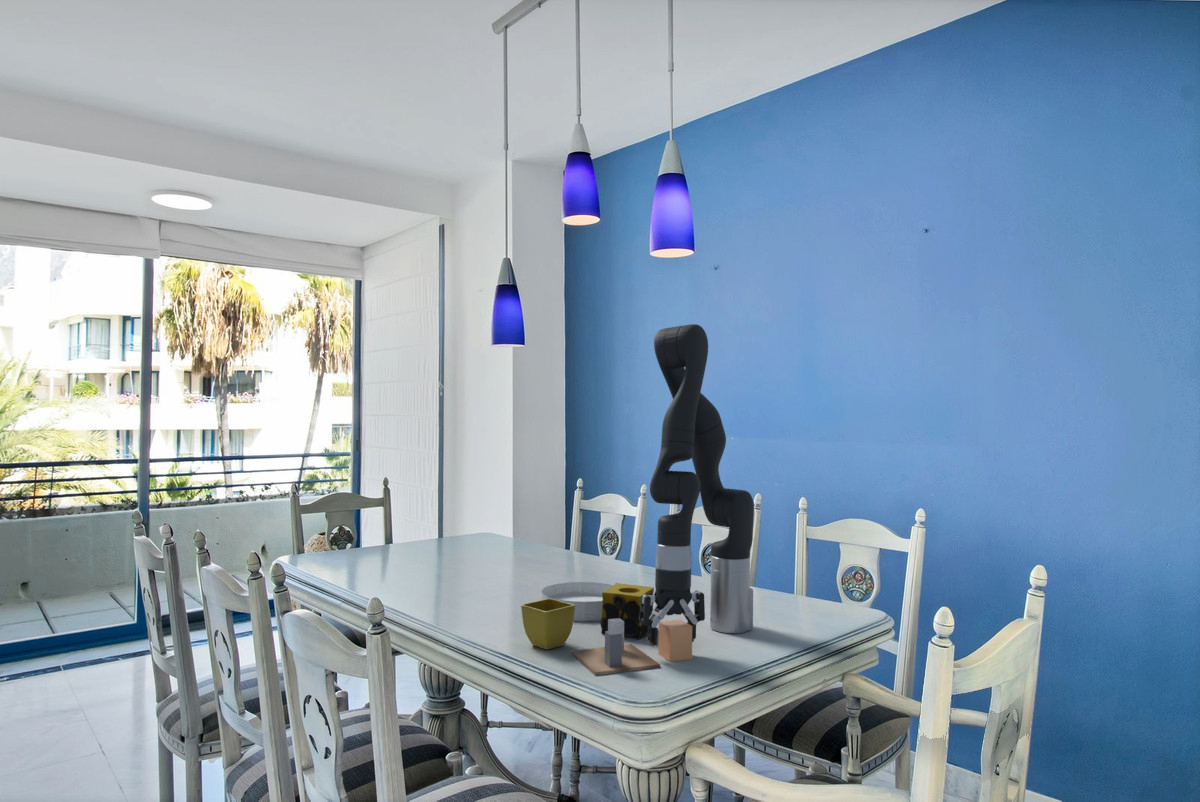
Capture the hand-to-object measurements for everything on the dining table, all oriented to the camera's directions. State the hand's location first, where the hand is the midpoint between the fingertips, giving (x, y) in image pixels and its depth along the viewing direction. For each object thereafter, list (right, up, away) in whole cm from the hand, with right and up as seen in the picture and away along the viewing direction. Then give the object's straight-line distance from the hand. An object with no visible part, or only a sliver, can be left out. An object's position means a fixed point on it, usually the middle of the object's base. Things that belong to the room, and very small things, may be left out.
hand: (671, 643), depth 157 cm
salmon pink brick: (+1, -3, 0) cm, 3 cm away
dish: (-20, -4, +37) cm, 42 cm away
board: (-12, -3, -3) cm, 13 cm away
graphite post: (-12, -2, -7) cm, 15 cm away
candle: (-9, -3, +18) cm, 20 cm away
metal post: (-12, -2, +1) cm, 12 cm away
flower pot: (-27, -3, +6) cm, 28 cm away
